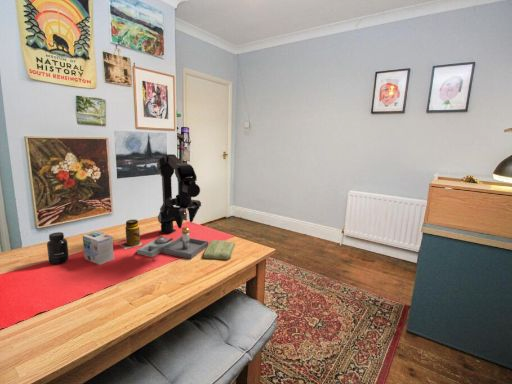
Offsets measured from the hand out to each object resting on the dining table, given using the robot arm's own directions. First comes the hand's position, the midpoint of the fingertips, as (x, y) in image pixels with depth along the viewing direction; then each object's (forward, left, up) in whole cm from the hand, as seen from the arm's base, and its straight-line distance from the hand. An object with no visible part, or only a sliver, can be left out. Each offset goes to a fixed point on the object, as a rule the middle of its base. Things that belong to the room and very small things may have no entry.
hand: (185, 225), depth 125 cm
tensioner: (+5, -13, -12) cm, 19 cm away
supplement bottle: (+31, -41, -13) cm, 53 cm away
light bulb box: (+23, -28, -13) cm, 38 cm away
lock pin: (0, 0, -12) cm, 12 cm away
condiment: (+6, -27, -13) cm, 30 cm away
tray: (0, 0, -12) cm, 12 cm away
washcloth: (-5, +15, -13) cm, 21 cm away
